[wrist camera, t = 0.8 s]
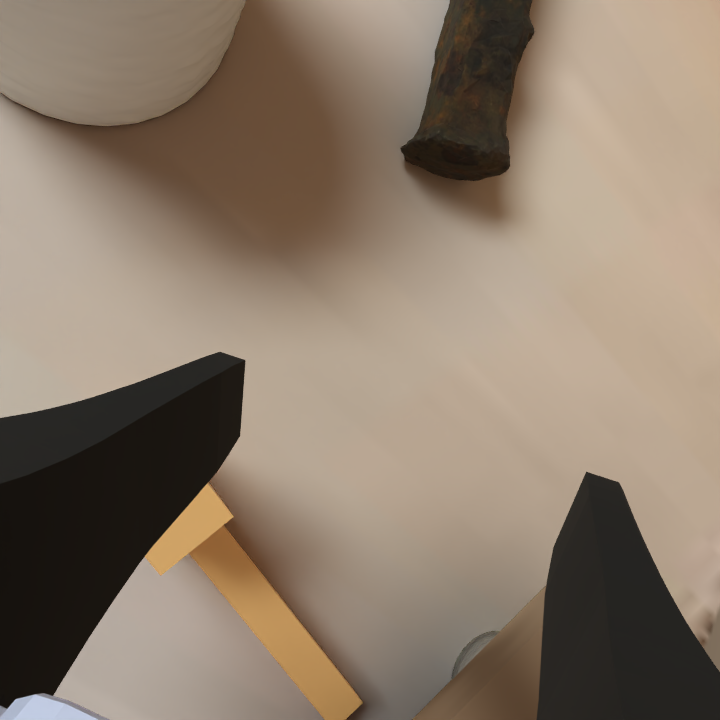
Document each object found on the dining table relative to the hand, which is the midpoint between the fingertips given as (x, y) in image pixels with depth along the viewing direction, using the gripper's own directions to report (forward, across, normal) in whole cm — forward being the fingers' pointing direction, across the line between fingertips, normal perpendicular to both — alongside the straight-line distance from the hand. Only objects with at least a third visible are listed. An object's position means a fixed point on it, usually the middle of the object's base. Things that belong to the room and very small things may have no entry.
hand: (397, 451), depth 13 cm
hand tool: (+23, +5, -8) cm, 25 cm away
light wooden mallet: (+6, +6, +13) cm, 15 cm away
